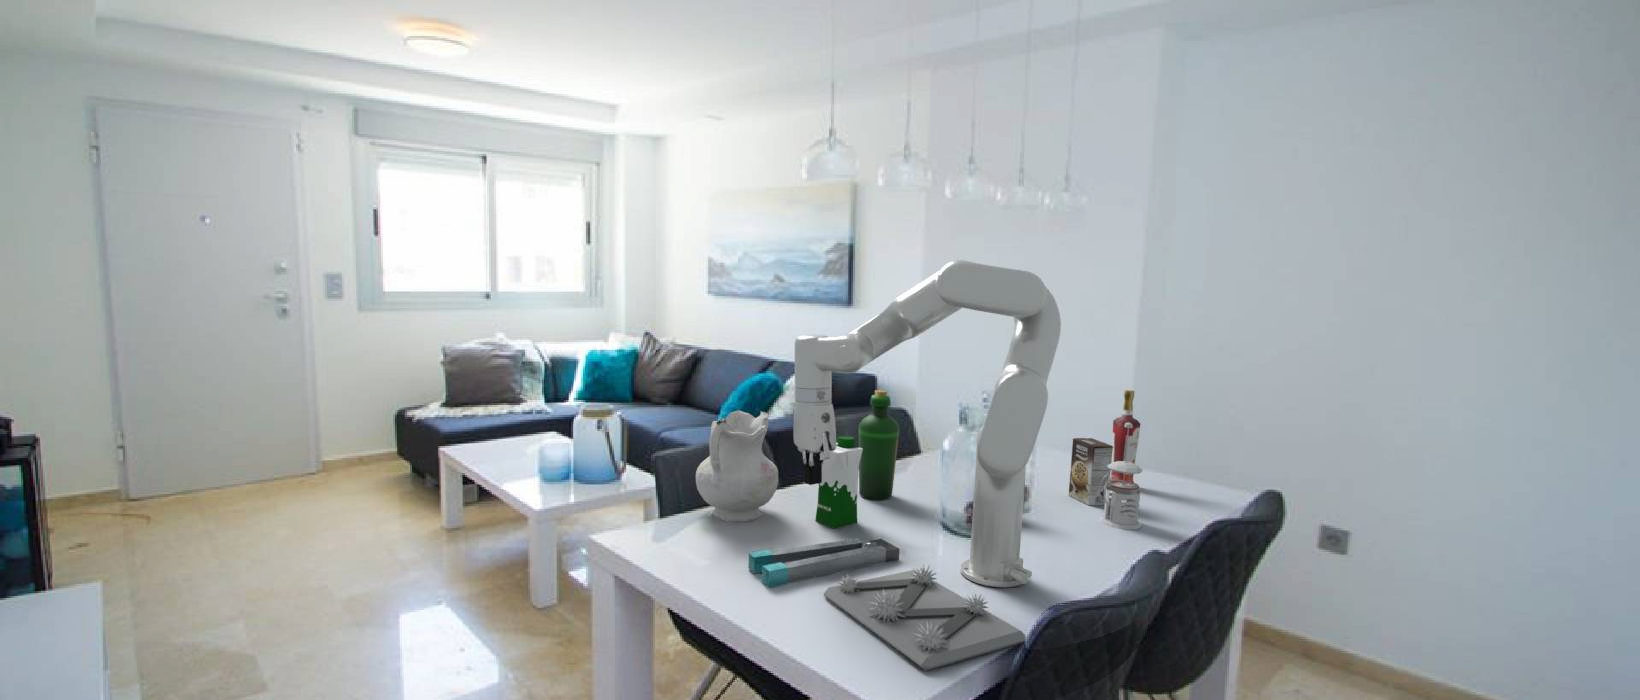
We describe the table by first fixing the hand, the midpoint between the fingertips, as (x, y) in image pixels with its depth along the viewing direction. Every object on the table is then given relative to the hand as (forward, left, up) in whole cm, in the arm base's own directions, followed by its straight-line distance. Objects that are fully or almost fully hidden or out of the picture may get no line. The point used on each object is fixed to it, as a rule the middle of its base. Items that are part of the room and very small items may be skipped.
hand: (813, 482), depth 157 cm
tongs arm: (-6, +3, -14) cm, 16 cm away
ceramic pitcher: (+28, +4, -15) cm, 32 cm away
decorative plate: (-34, -1, -16) cm, 38 cm away
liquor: (+5, -108, -15) cm, 110 cm away
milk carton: (+14, -15, -15) cm, 25 cm away
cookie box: (0, -87, -15) cm, 89 cm away
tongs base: (-9, +1, -15) cm, 17 cm away
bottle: (+27, -36, -15) cm, 48 cm away
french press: (-16, -78, -15) cm, 81 cm away
